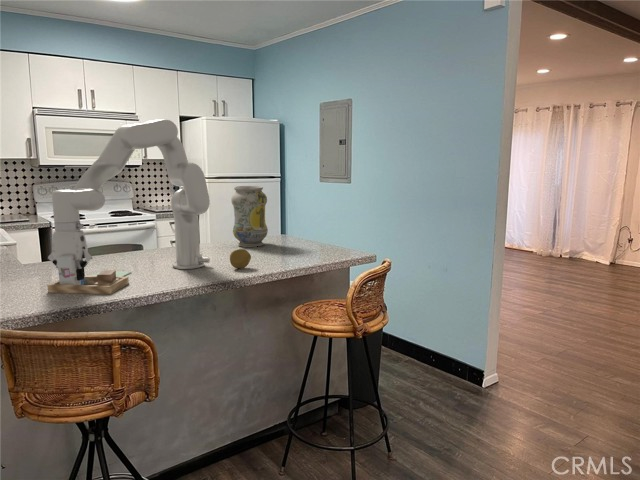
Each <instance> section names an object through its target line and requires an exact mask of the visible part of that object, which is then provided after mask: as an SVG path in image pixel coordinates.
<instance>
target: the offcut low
mask: <svg viewBox="0 0 640 480" xmlns="http://www.w3.org/2000/svg"><path fill="white" fill-rule="evenodd" d="M118 280H120V279H117V278H116V279H115V280H114V281H113V282H112V283H114V282H116V281H118ZM112 283H102V284H98V283H95V284H94V285H104V286H108V285H110V284H112Z"/></svg>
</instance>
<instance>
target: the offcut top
mask: <svg viewBox="0 0 640 480" xmlns="http://www.w3.org/2000/svg"><path fill="white" fill-rule="evenodd" d="M116 271H117V270H115V269H112V270H111V269H110V270H109V269H108V270H101V272H100V271H99V272H100V273H99V274H97V283H98V284H102V283H112V282H113V281H114V280H115V279H116Z"/></svg>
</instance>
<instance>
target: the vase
mask: <svg viewBox="0 0 640 480" xmlns="http://www.w3.org/2000/svg"><path fill="white" fill-rule="evenodd" d="M263 188H264V187H263V186H262V185H261V186H260V185H241V186H240V185H239V186H234V187H233V189H234V191H235V192H234V193H233V194H232V196H231V204H232V206H233V214H234V215H233V217H234V225H233V229H232V234H233V236H234V238H235V239H237V240H238V241H239V242H238V244H237V245H238V246H239V247H242V248H257V246H258V247H262V246H263V245H264V243H263V241H264V240H265V238H266V237H267V236H268V230H269V229H268V226H267V224H266V204H267V202H268V196H267V195H266V193H264V192H263Z"/></svg>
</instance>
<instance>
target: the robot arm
mask: <svg viewBox="0 0 640 480" xmlns="http://www.w3.org/2000/svg"><path fill="white" fill-rule="evenodd" d="M178 134H179V130H178V125H176V124H175V123H174V121H172V120H171V119H168V118H167V119H166V118H163V119H154V120H153V119H152V120H147V121H146V122H143V123H134V124H124V125H122V126H119V127H118V128H116V130H115V131H114V133H113V134H112V136H111V138H110V139H109V141H108V143H107V144H106V146H105V148H104V149H103V151H102V152H101V153H100V155H99V157H97V159H96V160H95V161H94V162H93V163H92V164H91V165H90V167H89V168H87V169H86V171H84V173H83V174H82V175H81V177H80V178H79V180H78V181H77V183H76V184H75V186H74V187H73V189H56V190H54V191H52V192H51V201H52V202H51V203H52V211H53V212H52V213H53V224H54V230H53V232H52V243H51V246H52V249H51V250H52V251H51V253H50V254H49V255H48V257H47V259H48V260H49V261H50V262H52V264H53V265H54V266H55V268H56V269H57V270H58V265H57V257H59V256H67V255H73V256H74V260H75V262H76V265H77V267H78V269H77V270H76V272H77V280H78V281H80V280H82V279H84V277H85V276H86V275H85V267H86V266H87V265H88V264H89V262H91V261H92V260H93V256H92V255H91V254H90V253H89V251H88V244H87V239H86V236H85V232H84V230H82V228H84V224H83V223H82V222H81V219H80V211H88V212H89V211H90V212H95V211H99V210H100V209H102V208H103V207H104V205H105V204H106V197H105V195H104V194H103V193H102V192H101V191H100V189H101V188H102V187H103V185H104V184H105V183H106V182H108V181H109V180H110V179H112V178H114V177H116V176H117V175H119V174H120V173H122V171H123V170H124V169H125V167H126V165H127V163H128V161H129V159H130V158H131V157H132V155H133V153H135V150H140V149H141V150H142V149H148V148H154V147H157V148H158V149H159V151H160V152H161V154H162V156H163V161H164V166H165V169H166V173H167V178H168V180H169V182H170V184H171V185H173V186H176V187H179V188H180V187H181V189H178V190H176V191H175V192H174V193H173V194H172V195H171V200H170V204H171V205H170V206H171V210H172V214H173V220H174V239H175V262H172V265H171V266H172V268H174V269H175V270H176V269H177V270H179V269H180V270H194V269H199V268H201V267H204V266H205V264H206V263H207V264H208V263H211V259H210V257H209V256H208V257H207V256H205V257H204V256H203V254H202V253H201V249H200V248H201V247H200V222H199V217H198V215H199V216H200V215H203V214H205V213H207V211H208V209H209V207H210V204H211V203H210V195H209V190H208V186H207V185H208V184H207V181H206V178H205V177H206V176H205V173H204V171H203V169H202V168H201V166H199V165H198V164H196V163H194V162H189V160H188V158H187V155H186V151H185V147H184V145H183V143H182V142H181V140H180V139H179V137H178Z"/></svg>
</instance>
